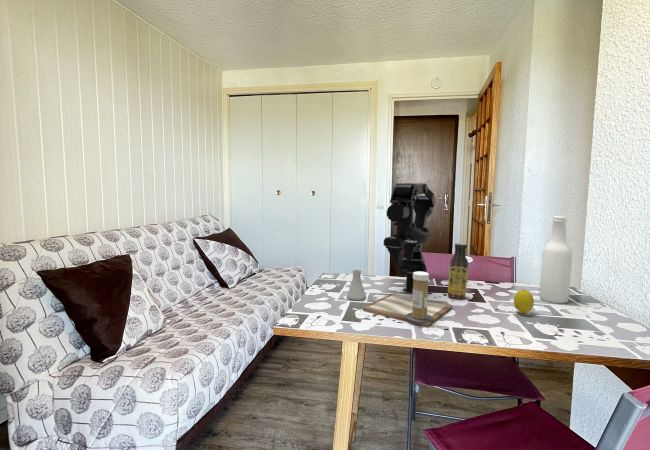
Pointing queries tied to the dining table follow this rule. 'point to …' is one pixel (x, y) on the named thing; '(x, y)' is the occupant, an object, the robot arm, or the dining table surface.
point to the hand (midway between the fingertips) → (403, 264)
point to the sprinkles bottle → (420, 294)
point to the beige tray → (406, 309)
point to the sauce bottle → (458, 272)
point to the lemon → (523, 301)
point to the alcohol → (556, 265)
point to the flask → (356, 287)
